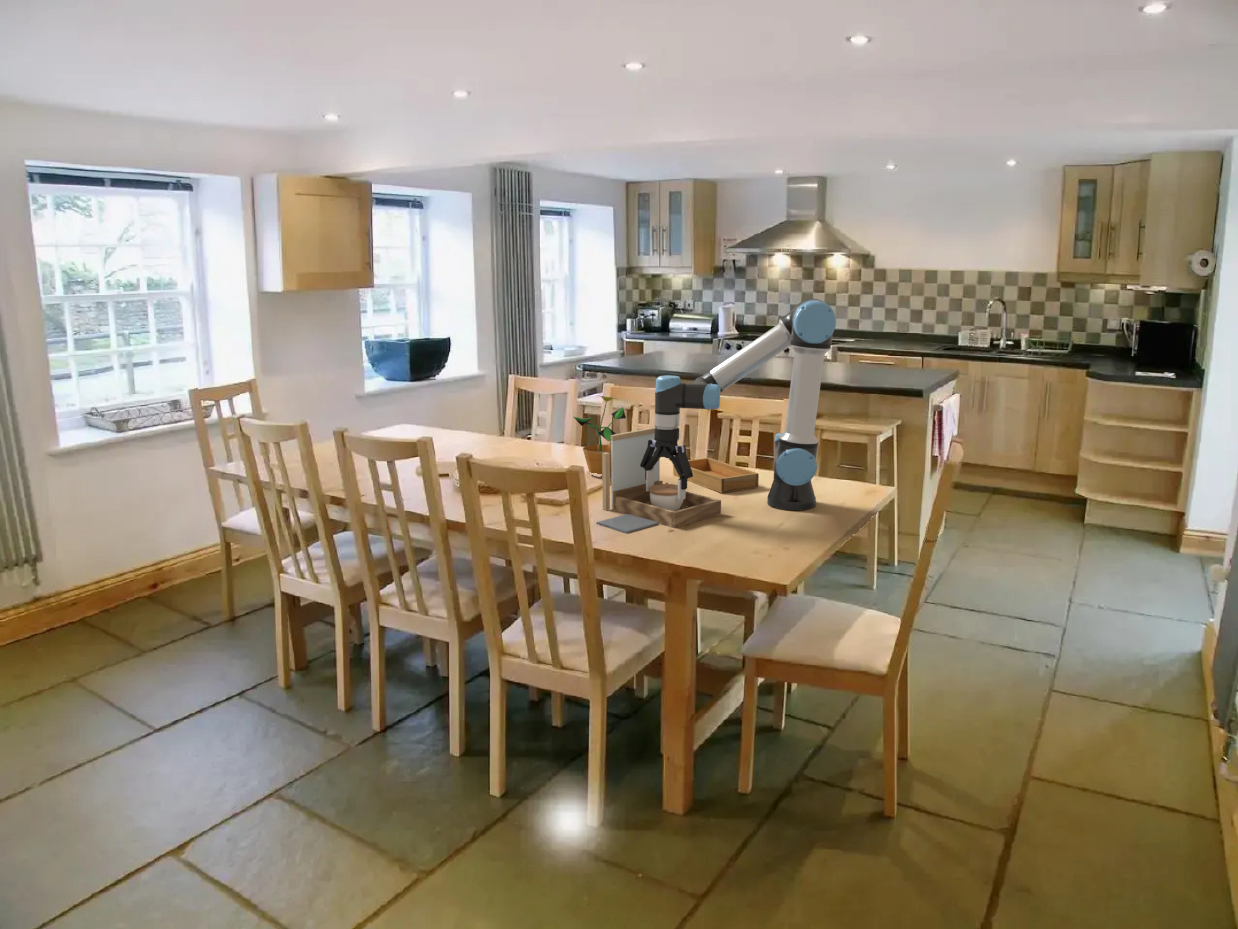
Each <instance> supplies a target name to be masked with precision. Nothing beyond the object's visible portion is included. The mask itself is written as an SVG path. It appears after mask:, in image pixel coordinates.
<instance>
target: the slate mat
mask: <svg viewBox="0 0 1238 929" xmlns="http://www.w3.org/2000/svg"><path fill="white" fill-rule="evenodd" d="M598 524H599V526H602V527H605V528H609V529H611V530H615V531H617V532H621V533H624V534H628V533H633V532H636V531H639V530H644V529H648V528H650V527H654V526H657V525H659V522H656V521H652V520H649V519H645V518H642V517H638V516H635V515H631V514H625V513H624V514H622V515H618V516H615V517H610V518H607V519H603V520H599V521H596V525H598Z"/></svg>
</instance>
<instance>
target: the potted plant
mask: <svg viewBox="0 0 1238 929" xmlns="http://www.w3.org/2000/svg"><path fill="white" fill-rule="evenodd" d="M596 397H598V395H596ZM599 397H601V398H602V399H603V401H604V402H605V405H604V409H603V413H602V416H601V420H600V424H599V428H598V426H597V425H596V423H595V421H594V420H593V418H591V417H590V418H589V417H588V418H582V417H577V416H573V418H574V419H575V420H576V422H577V423H578V424H579V425H580V426H582V427H583V426H584V425H585V424H586V425H587V427H590V428H592V429H595V430H596V431H597V434H598V437H599V444H589V445H586V446H584V447H582V451H583V454H584V458H585V461H586V464H587V469H588V473H590V472H591V473H597V474H602V453H609V456H610V474H611V444H603V443H602V437H603V439H605V441H607V442H610V441H611V438H610V435H615V434H617V433H616V432H615V431H614V430H612V429H611V427H610V426H611V425H612V424H613V422H614V421H615V420H621V419H624V420H625V419H627V416H626V413H625V411H624V407H623V406H622V407H621V408H619V409H617V410H615V411H613V412H612V413H611V416H612V417H613V418H614V419H613V420H612V421H611V422H610V423H609V424H608V425H607V426H602V423H603V419H604V416H605V413H606V408H607V402H610V401H611V400H617V397H616V398H615V397H609V396H603V395H599ZM589 421H592V423H593V424H592V423H589Z"/></svg>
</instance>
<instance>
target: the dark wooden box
mask: <svg viewBox="0 0 1238 929" xmlns="http://www.w3.org/2000/svg"><path fill="white" fill-rule="evenodd" d="M659 484H663V480H660V481H656V482H654V485H659ZM649 503H651V502H650V492H649V491H648V492H647V491H646V484H643V485H639V486H634V487H630V488H626V489H622V490H618V491H613V510H612V511H615V512H618V513H622V514H624V515H625V514H631V515H635V516H638V517H642V518H645V519H649V520H652V521H656V522H659V524H660V525H664V526H667V527H671V528H673V529H676V528H679V527H682V526H687V525H689V524H693V523H696V522H699V521H703V520H706V519H709V518H714V517H717V516H720V515H722V500H721V499H717V498H715V497H714V498H713V497H710V496H705V495H701V494H697V493H693V492H689V491H686V498H685V499H683V504H682V506H683V507H685V508H683V509H681V508H680V509H679V510H678V511H671V510H668V509H664V508H660V507H657V506H653V505H651V504H649ZM682 506H681V507H682ZM659 524H658V525H659Z"/></svg>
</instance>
